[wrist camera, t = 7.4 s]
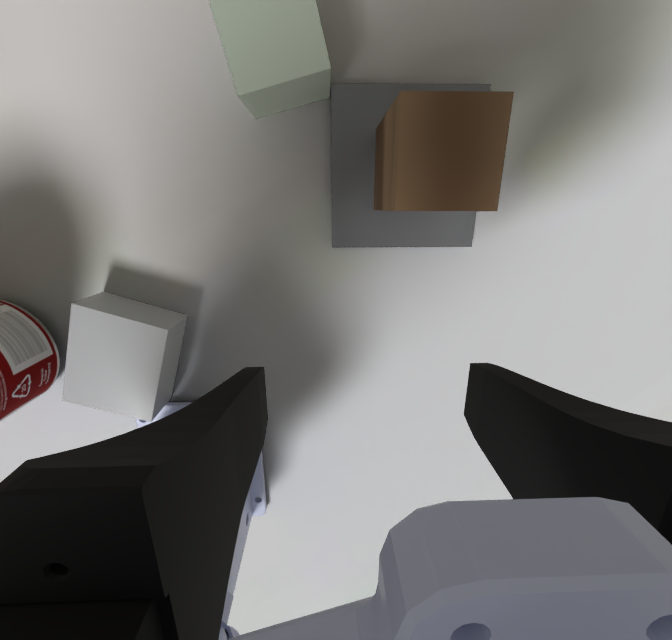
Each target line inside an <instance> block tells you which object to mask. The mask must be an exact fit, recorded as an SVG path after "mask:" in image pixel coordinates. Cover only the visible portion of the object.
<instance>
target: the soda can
mask: <svg viewBox="0 0 672 640" xmlns="http://www.w3.org/2000/svg"><path fill="white" fill-rule="evenodd" d="M59 366H60V358H59V352H58V348H57V345H56V343H55V341H54V339H53V337H52V335H51V334H50V332H49V331H48V329H47V328H46V327H45V326H44V325H43V324H42V322H41V321H40V320H38V319H37V318H36V317H35V316H34V315H32V314H31V313H30V312H28V311H27V310H25V309H24V308H22V307H20V306H18V305H16V304H14V303H11V302H8V301H5V300H2V299H0V421H2V420H3V419H5V418H6V417H8V416H9V415H11V414H13V413H14V412H16V411H17V410H19V409H20V408H22V407H23V406H25V405H26V404H28V403H29V402H31V401H32V400H34V399H35V398H37V397H38V396H40V395H41V394H43V393H44V392H46V391H47V390H48V389H49V388H50V387H51V386H52V385H53V383H54V382H55V380H56V378H57V375H58V372H59Z"/></svg>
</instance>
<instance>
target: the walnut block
mask: <svg viewBox="0 0 672 640" xmlns="http://www.w3.org/2000/svg"><path fill="white" fill-rule="evenodd" d="M513 93H514V92H482V91H400V93H399V94H398V96H397V97H396V99H395V100H394V102H393V103H392V105H391V106H390V108H389V110H388V111H387V113H386V114H385V116H384V117H383V119H382V120H381V122H380V123H379V125H378V126H377V128H376V147H375V178H374V210H381V211H497V208H498V201H499V194H500V187H501V179H502V172H503V165H504V158H505V151H506V143H507V136H508V129H509V122H510V114H511V107H512V100H513Z"/></svg>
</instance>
